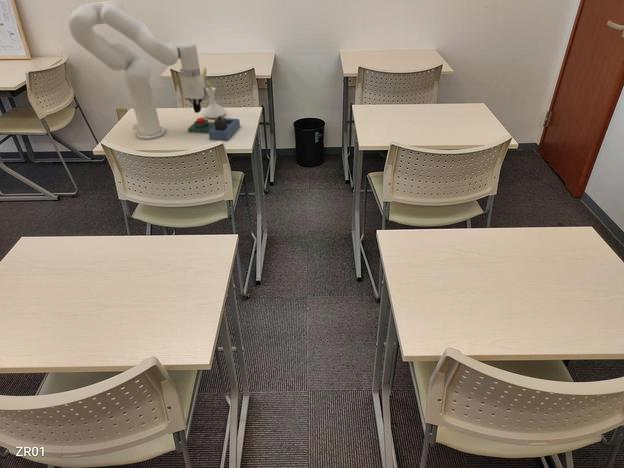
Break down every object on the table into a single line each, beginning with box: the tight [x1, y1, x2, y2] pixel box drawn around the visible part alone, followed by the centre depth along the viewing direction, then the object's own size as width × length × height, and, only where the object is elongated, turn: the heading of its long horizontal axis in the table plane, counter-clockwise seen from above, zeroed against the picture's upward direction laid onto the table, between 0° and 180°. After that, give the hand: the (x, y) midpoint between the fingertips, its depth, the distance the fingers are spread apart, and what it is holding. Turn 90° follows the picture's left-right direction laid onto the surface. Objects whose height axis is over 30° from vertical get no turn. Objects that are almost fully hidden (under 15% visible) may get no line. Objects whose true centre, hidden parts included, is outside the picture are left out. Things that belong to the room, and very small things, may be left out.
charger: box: [213, 116, 227, 130], centre depth 219 cm, size 4×4×10 cm
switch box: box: [187, 118, 215, 134], centre depth 228 cm, size 10×9×4 cm
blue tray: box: [208, 117, 241, 142], centre depth 223 cm, size 9×16×4 cm, turn 166°
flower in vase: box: [200, 67, 227, 119], centre depth 234 cm, size 13×11×25 cm
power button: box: [196, 117, 206, 124], centre depth 227 cm, size 4×4×2 cm
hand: (197, 111), depth 224 cm, fingers closed
